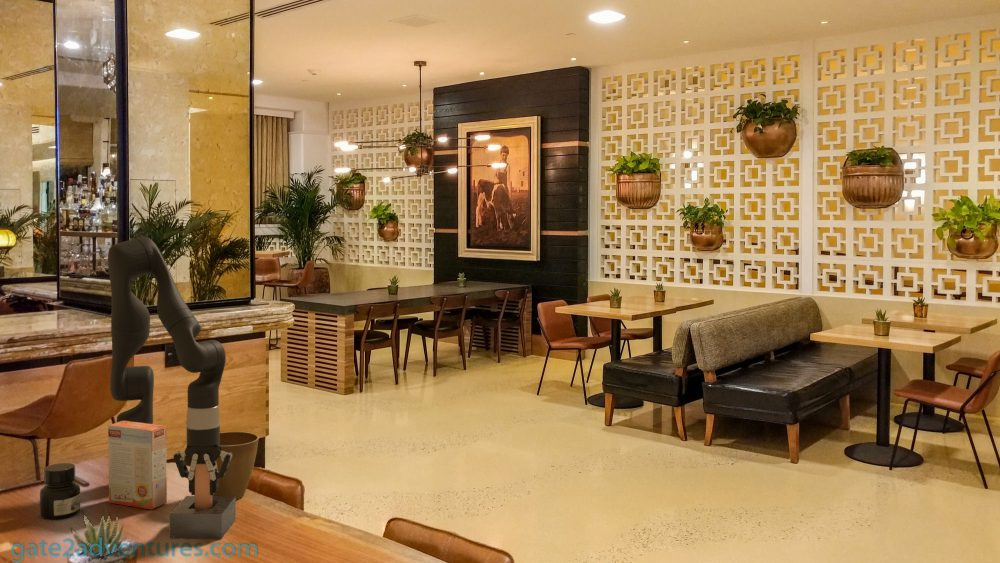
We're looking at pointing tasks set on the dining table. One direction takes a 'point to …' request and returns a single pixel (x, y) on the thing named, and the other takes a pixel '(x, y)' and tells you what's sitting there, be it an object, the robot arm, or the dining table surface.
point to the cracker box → (137, 464)
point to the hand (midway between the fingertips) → (203, 493)
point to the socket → (203, 518)
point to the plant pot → (237, 462)
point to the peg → (202, 487)
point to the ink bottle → (59, 492)
